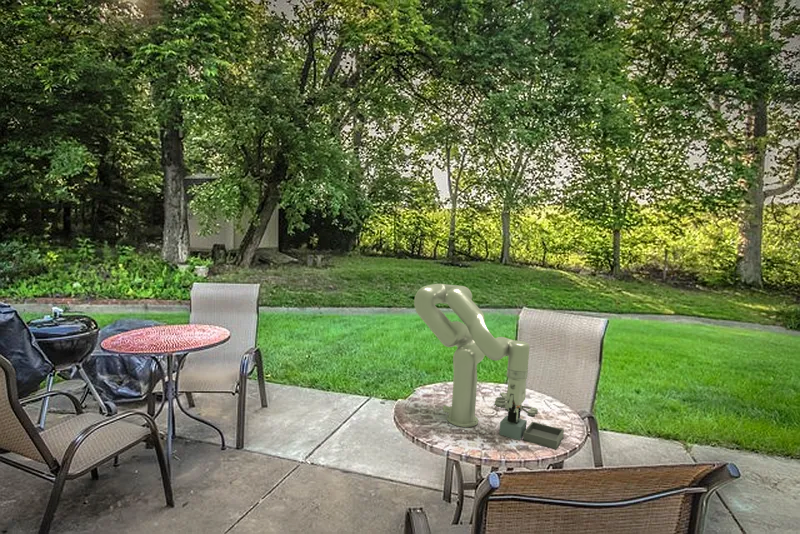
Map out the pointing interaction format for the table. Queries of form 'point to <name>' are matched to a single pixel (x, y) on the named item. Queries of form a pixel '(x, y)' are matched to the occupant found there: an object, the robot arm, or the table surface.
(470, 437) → the table surface
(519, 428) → the block
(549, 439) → the parts tray
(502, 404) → the pulley system
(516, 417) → the pin
